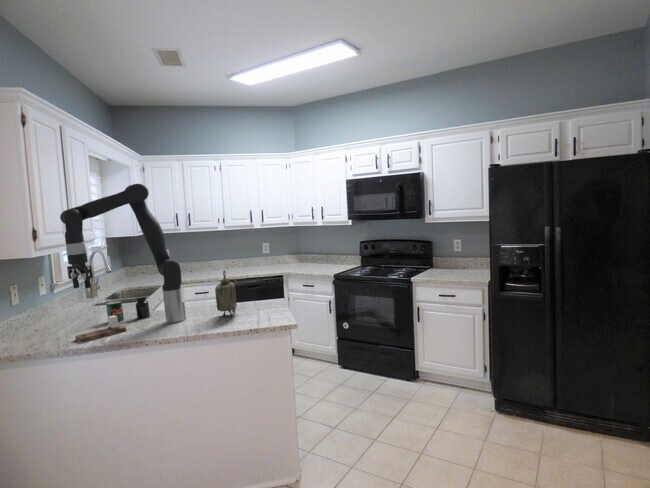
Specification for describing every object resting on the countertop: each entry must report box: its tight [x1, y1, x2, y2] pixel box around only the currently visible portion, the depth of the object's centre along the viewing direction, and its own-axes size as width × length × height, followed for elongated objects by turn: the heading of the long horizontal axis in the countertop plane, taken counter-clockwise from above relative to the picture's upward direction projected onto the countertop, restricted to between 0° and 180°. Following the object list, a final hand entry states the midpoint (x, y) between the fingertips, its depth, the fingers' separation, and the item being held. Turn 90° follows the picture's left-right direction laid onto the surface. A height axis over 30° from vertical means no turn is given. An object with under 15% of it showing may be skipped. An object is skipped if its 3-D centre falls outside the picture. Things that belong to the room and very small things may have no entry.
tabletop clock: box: [214, 269, 238, 319], centre depth 209 cm, size 14×9×25 cm, turn 9°
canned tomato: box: [105, 300, 125, 324], centre depth 217 cm, size 8×8×11 cm
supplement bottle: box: [135, 295, 151, 320], centre depth 221 cm, size 7×7×12 cm
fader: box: [107, 315, 120, 329], centre depth 195 cm, size 3×7×6 cm, turn 48°
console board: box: [74, 324, 127, 344], centre depth 191 cm, size 20×9×2 cm, turn 138°
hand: (82, 288), depth 177 cm, fingers open, 8 cm apart
